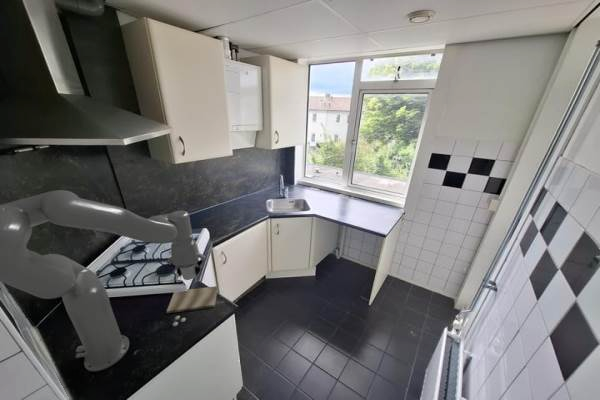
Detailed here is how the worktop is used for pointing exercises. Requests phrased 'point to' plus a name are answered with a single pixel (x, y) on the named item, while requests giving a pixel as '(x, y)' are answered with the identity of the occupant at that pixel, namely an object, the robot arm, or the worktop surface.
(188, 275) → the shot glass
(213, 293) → the birch board
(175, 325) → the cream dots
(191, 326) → the worktop surface
